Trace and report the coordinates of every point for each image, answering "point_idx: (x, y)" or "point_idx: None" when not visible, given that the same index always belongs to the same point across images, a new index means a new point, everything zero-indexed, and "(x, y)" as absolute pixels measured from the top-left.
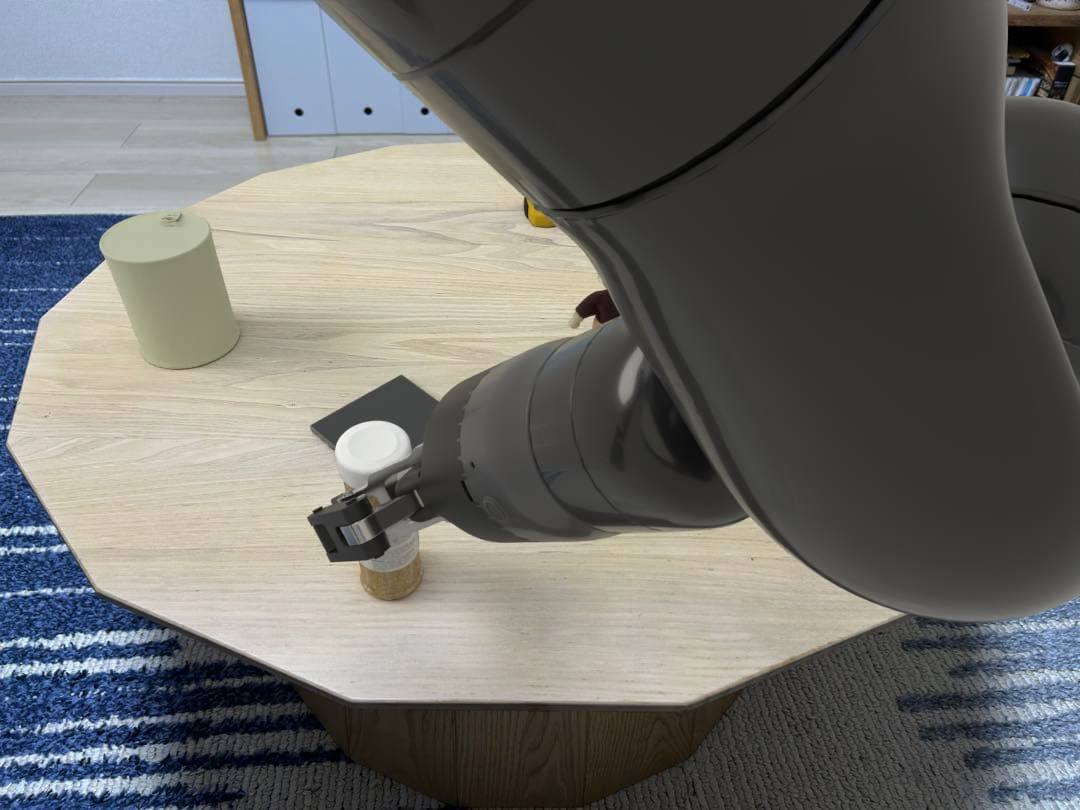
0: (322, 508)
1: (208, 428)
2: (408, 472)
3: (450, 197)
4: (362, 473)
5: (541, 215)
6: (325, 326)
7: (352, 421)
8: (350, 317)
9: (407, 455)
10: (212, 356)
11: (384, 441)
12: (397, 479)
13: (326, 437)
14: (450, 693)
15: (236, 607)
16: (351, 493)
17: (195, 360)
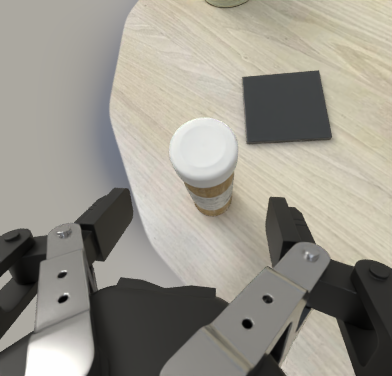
0: (13, 239)
1: (198, 50)
2: (3, 365)
3: None
4: (175, 168)
5: None
6: (302, 10)
7: (265, 88)
8: (322, 10)
9: (73, 294)
10: (229, 3)
11: (213, 149)
12: (89, 276)
13: (244, 90)
14: (186, 285)
15: (141, 159)
16: (52, 242)
17: (220, 2)
